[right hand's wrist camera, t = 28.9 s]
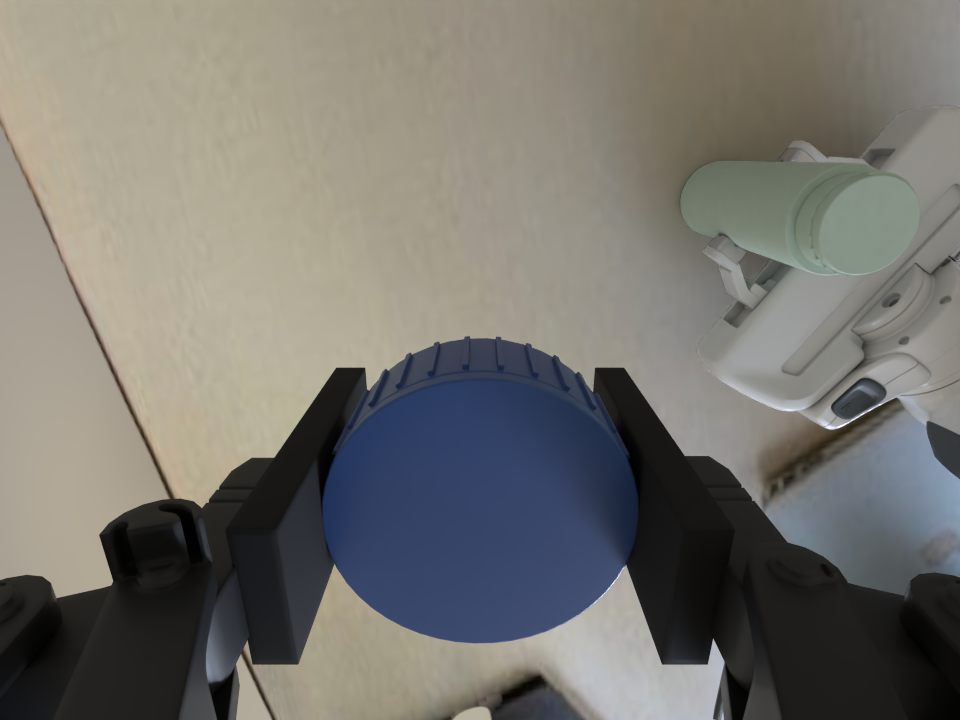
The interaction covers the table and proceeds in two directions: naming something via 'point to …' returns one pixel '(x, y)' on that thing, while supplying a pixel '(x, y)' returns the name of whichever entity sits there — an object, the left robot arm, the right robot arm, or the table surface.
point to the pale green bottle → (805, 212)
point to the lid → (480, 494)
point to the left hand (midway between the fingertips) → (749, 199)
